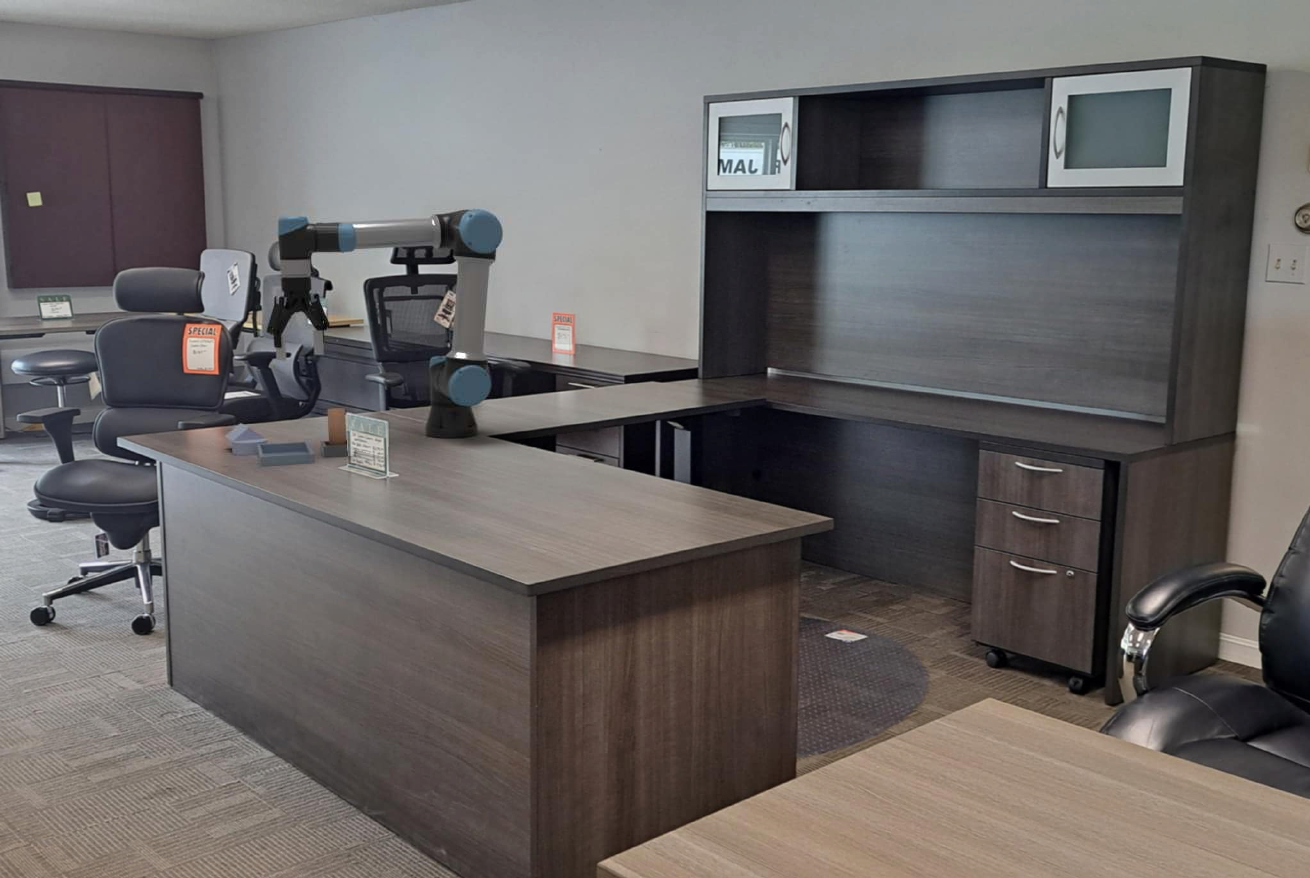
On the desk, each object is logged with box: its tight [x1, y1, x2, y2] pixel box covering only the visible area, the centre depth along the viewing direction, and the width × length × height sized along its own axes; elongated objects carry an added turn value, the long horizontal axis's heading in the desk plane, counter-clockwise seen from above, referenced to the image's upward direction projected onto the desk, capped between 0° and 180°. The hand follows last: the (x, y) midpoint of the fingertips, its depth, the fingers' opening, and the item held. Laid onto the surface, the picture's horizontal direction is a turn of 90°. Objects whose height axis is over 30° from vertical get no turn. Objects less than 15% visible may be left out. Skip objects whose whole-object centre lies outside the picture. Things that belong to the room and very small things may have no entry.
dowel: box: [327, 407, 347, 446], centre depth 322 cm, size 4×4×12 cm
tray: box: [256, 441, 315, 468], centre depth 317 cm, size 13×18×3 cm
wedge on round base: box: [224, 423, 268, 456], centre depth 330 cm, size 9×7×13 cm
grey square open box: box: [320, 439, 348, 459], centre depth 323 cm, size 8×8×4 cm
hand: (300, 357), depth 321 cm, fingers open, 13 cm apart
